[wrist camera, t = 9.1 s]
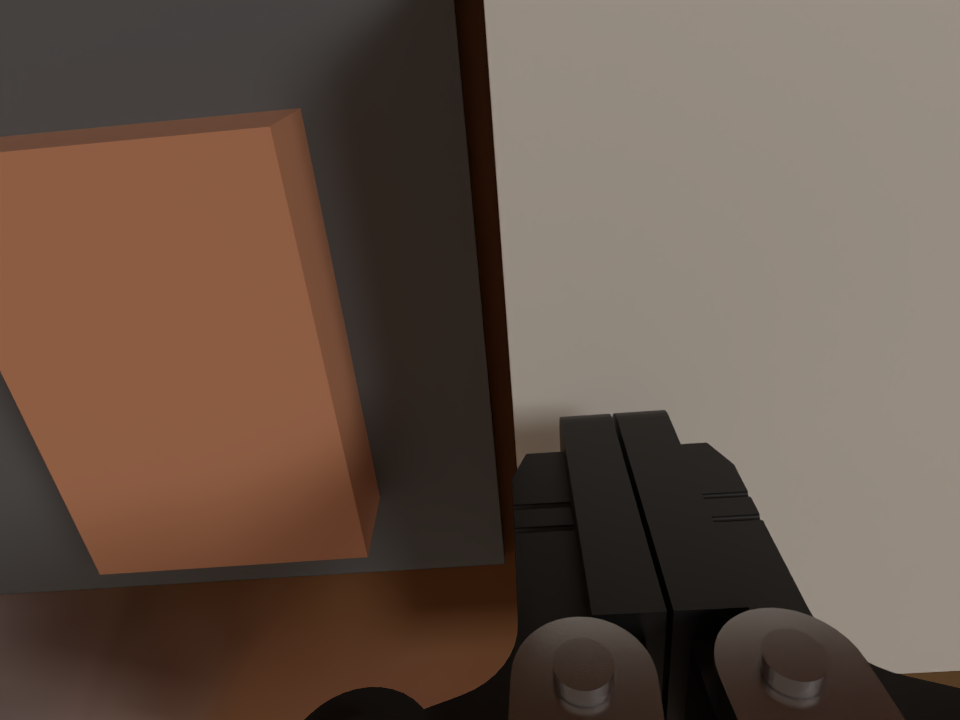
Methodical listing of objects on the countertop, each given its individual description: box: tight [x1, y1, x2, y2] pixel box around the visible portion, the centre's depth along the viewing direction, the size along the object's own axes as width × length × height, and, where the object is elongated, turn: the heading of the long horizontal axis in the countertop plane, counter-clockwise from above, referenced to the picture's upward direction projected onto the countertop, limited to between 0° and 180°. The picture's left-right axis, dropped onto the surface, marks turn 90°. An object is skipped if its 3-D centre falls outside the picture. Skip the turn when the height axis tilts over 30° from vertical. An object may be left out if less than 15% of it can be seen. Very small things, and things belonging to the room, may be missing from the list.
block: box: [0, 108, 380, 575], centre depth 14 cm, size 6×9×2 cm, turn 5°
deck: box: [483, 0, 960, 674], centre depth 12 cm, size 14×14×4 cm
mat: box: [0, 0, 505, 594], centre depth 15 cm, size 14×14×1 cm
